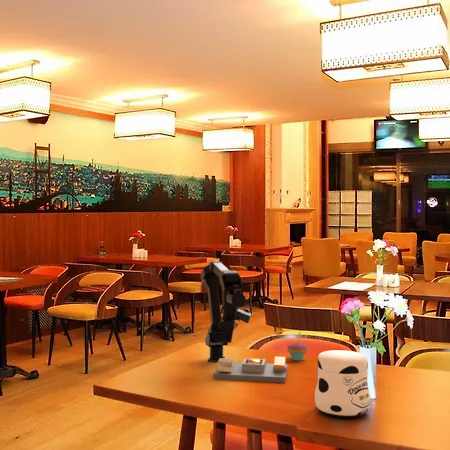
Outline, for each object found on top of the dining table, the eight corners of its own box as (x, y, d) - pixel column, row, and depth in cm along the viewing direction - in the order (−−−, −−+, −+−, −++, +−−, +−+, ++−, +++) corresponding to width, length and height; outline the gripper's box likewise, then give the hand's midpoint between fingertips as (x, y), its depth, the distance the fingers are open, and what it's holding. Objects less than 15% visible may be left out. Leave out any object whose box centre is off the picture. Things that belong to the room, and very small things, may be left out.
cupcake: (293, 355, 257) (293, 328, 256) (310, 358, 252) (311, 330, 251) (283, 359, 250) (283, 331, 249) (301, 363, 245) (301, 334, 244)
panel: (220, 366, 239) (220, 354, 239) (287, 369, 235) (287, 356, 235) (213, 379, 222) (213, 366, 221) (285, 382, 218) (285, 369, 217)
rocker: (275, 359, 230) (275, 356, 230) (285, 360, 230) (285, 356, 230) (274, 368, 224) (274, 364, 223) (284, 368, 223) (284, 365, 223)
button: (248, 365, 231) (248, 358, 231) (261, 366, 230) (261, 358, 230) (246, 369, 226) (246, 361, 226) (259, 369, 225) (259, 362, 225)
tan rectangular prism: (219, 368, 227) (219, 358, 227) (232, 369, 226) (232, 358, 226) (218, 371, 223) (218, 361, 223) (231, 372, 222) (231, 361, 222)
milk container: (372, 423, 177) (372, 364, 176) (314, 420, 180) (314, 361, 179) (367, 404, 194) (368, 350, 193) (315, 401, 197) (315, 348, 196)
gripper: (247, 308, 222) (247, 349, 223) (252, 300, 240) (252, 338, 241) (218, 307, 224) (218, 347, 224) (225, 299, 242) (225, 337, 243)
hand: (229, 342), depth 233 cm, fingers closed
